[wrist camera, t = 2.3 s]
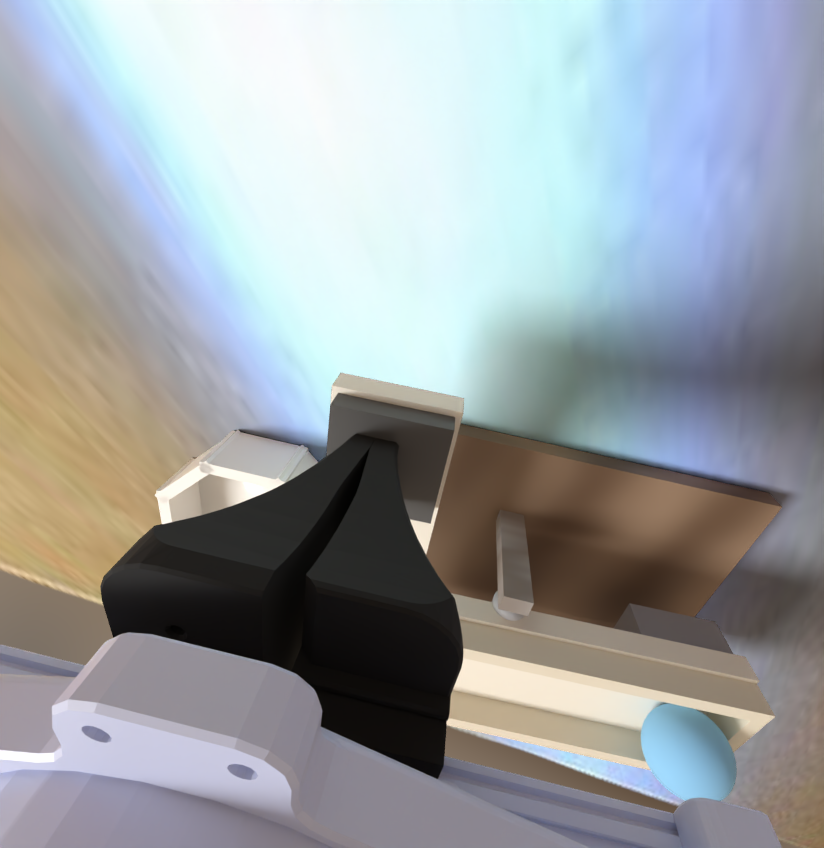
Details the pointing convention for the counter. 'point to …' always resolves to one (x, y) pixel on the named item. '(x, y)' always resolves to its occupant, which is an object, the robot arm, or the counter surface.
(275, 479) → the cup
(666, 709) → the ball
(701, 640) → the tipping lever
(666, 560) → the lever stand
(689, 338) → the counter surface
